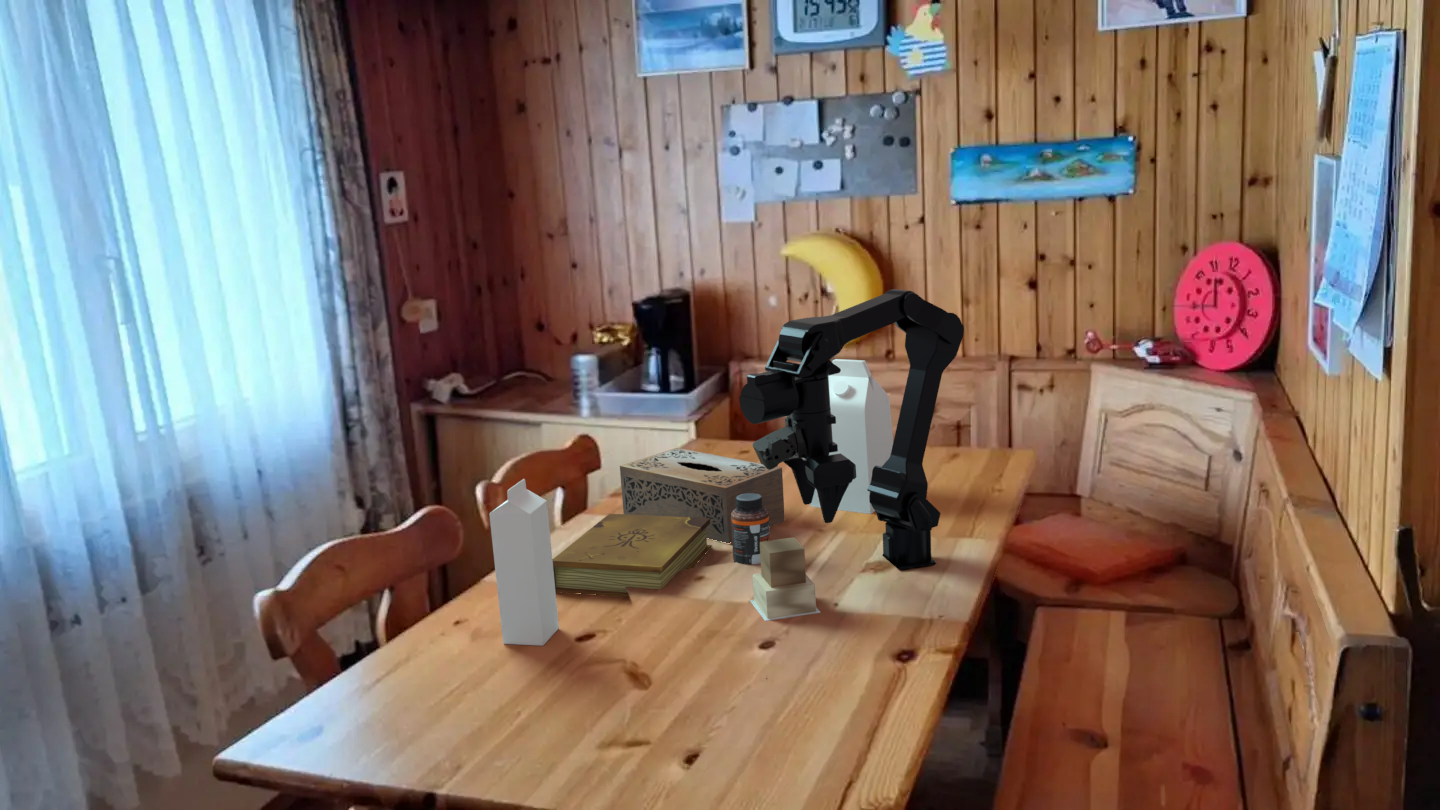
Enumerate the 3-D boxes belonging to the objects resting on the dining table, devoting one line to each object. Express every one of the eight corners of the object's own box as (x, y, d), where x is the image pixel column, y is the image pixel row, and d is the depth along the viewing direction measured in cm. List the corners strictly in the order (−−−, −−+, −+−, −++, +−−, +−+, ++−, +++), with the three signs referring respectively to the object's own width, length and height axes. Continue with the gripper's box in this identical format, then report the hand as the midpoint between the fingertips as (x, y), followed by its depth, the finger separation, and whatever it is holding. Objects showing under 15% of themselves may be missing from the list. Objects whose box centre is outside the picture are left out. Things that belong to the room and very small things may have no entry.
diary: (607, 545, 206) (605, 513, 205) (712, 551, 200) (710, 517, 199) (548, 595, 185) (545, 559, 183) (663, 602, 179) (661, 565, 178)
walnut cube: (795, 570, 172) (793, 537, 171) (806, 582, 167) (804, 548, 166) (761, 575, 171) (759, 542, 170) (771, 587, 166) (769, 553, 165)
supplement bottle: (768, 572, 187) (764, 502, 185) (730, 572, 188) (726, 502, 186) (774, 559, 193) (770, 490, 190) (737, 558, 194) (733, 490, 192)
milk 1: (502, 644, 166) (485, 490, 162) (520, 626, 172) (503, 477, 167) (544, 646, 165) (527, 491, 160) (560, 628, 171) (544, 477, 166)
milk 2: (897, 495, 222) (893, 356, 216) (870, 514, 212) (865, 368, 207) (838, 489, 228) (833, 353, 222) (809, 506, 219) (803, 364, 213)
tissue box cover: (784, 522, 211) (782, 467, 209) (728, 546, 201) (725, 488, 199) (680, 498, 229) (676, 447, 227) (624, 519, 219) (619, 465, 216)
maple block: (800, 593, 174) (799, 567, 173) (816, 611, 168) (814, 584, 167) (754, 600, 173) (752, 574, 172) (767, 618, 166) (765, 591, 165)
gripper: (738, 403, 179) (746, 503, 183) (775, 432, 161) (784, 542, 165) (809, 392, 182) (816, 492, 185) (854, 420, 164) (860, 529, 168)
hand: (817, 513), depth 176 cm, fingers open, 9 cm apart
